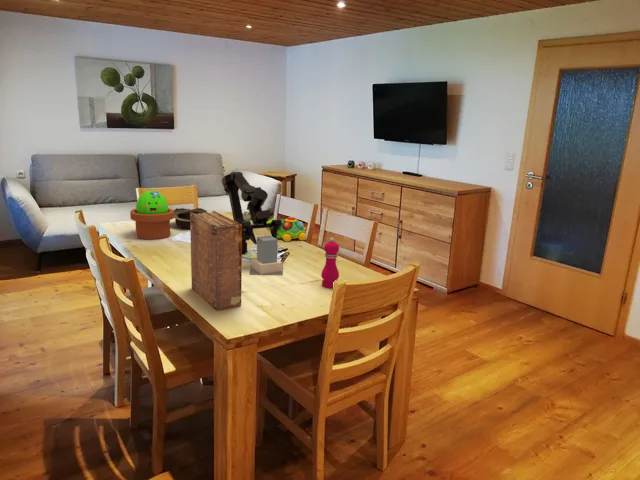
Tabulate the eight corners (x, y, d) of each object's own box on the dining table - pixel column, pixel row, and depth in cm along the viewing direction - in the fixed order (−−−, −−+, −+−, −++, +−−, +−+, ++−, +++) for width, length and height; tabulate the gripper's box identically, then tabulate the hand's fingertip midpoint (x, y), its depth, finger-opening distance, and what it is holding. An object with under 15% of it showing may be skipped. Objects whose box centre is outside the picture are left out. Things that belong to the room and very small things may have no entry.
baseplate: (249, 277, 202) (249, 274, 202) (251, 266, 217) (251, 263, 217) (282, 277, 204) (282, 275, 203) (282, 266, 218) (282, 264, 218)
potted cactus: (131, 231, 265) (128, 186, 259) (172, 230, 274) (171, 186, 267) (132, 242, 246) (129, 193, 240) (176, 239, 254) (175, 192, 248)
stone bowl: (179, 219, 299) (180, 205, 296) (218, 225, 296) (219, 211, 294) (161, 228, 275) (162, 212, 272) (203, 234, 272) (204, 218, 270)
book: (191, 288, 187) (189, 212, 180) (214, 284, 192) (213, 210, 185) (217, 311, 167) (216, 226, 159) (241, 306, 172) (242, 224, 164)
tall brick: (256, 259, 210) (257, 237, 207) (270, 257, 213) (271, 235, 211) (262, 263, 205) (263, 240, 202) (277, 261, 208) (277, 239, 205)
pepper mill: (320, 282, 200) (322, 235, 195) (337, 282, 201) (340, 235, 196) (321, 288, 193) (323, 240, 188) (339, 288, 194) (342, 240, 189)
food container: (247, 233, 274) (247, 216, 271) (236, 232, 275) (237, 215, 272) (254, 228, 286) (254, 212, 283) (244, 227, 287) (244, 211, 284)
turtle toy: (261, 236, 270) (261, 215, 267) (299, 233, 280) (300, 213, 277) (270, 243, 255) (271, 222, 252) (311, 240, 265) (312, 220, 262)
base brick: (251, 267, 212) (251, 258, 211) (272, 264, 217) (272, 256, 216) (260, 274, 203) (260, 265, 202) (282, 271, 208) (282, 262, 207)
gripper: (241, 203, 203) (251, 235, 197) (281, 201, 213) (291, 231, 206) (234, 217, 212) (243, 248, 206) (273, 215, 221) (283, 244, 215)
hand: (266, 243), depth 208 cm, fingers open, 9 cm apart
